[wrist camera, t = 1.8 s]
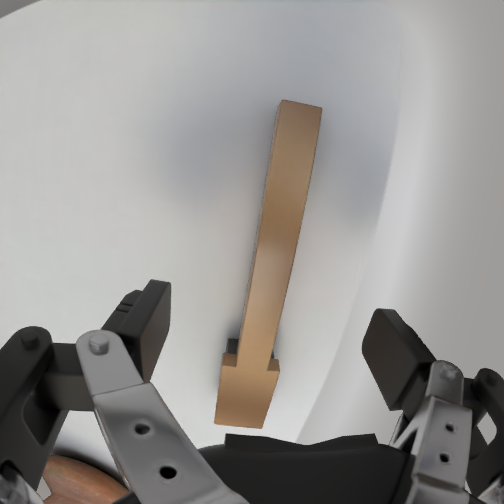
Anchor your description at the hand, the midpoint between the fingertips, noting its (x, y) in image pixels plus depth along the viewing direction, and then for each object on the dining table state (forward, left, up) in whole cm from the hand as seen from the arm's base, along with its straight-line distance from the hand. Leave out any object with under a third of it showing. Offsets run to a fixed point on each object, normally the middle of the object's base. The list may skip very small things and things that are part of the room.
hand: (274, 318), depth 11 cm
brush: (+2, +1, -6) cm, 7 cm away
